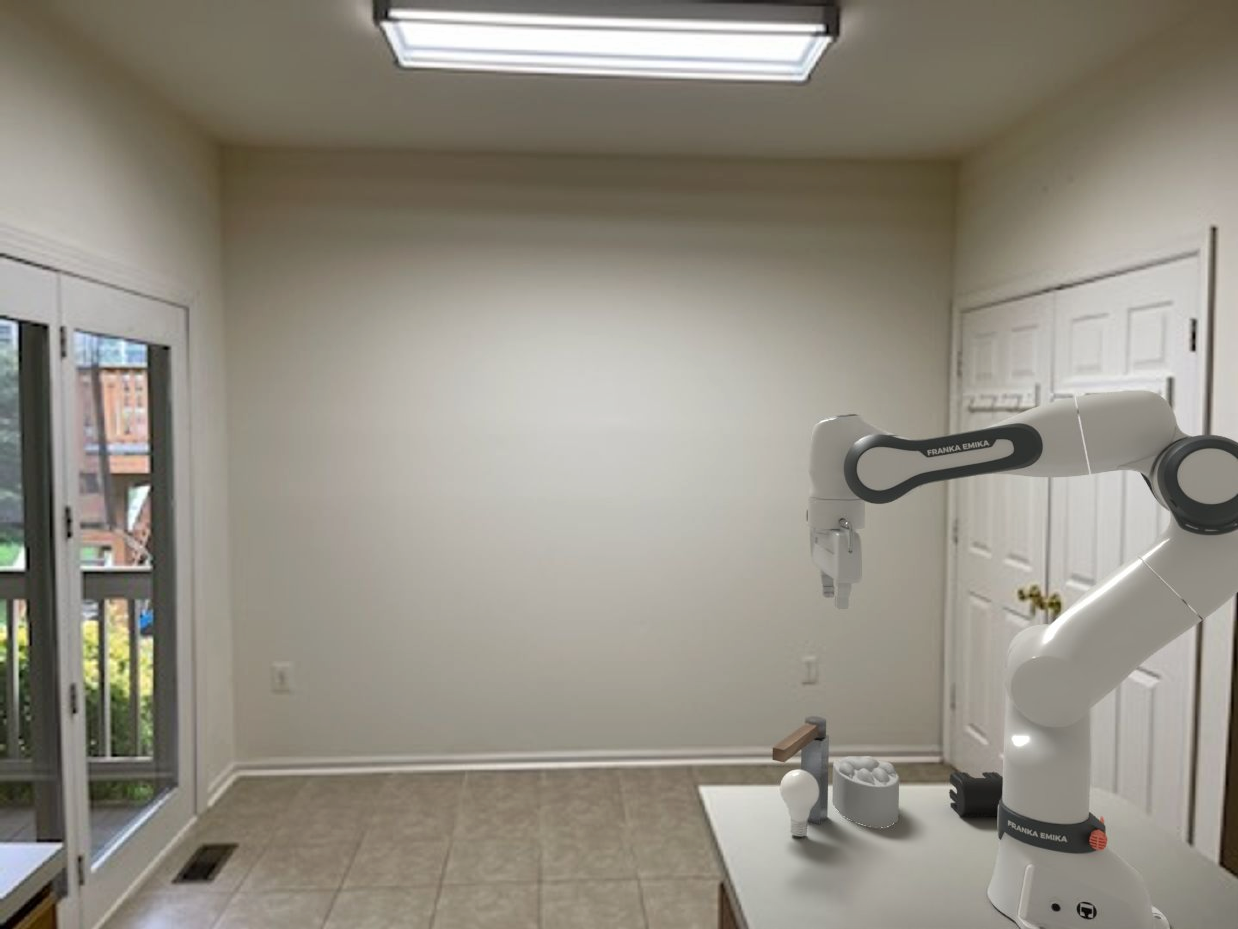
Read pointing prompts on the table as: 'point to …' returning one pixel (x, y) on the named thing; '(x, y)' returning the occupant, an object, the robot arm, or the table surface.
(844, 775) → the lumpy-topped squat cylinder
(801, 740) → the hammer
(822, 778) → the post
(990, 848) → the table surface
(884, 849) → the table surface
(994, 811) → the end cap
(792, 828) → the lightbulb
